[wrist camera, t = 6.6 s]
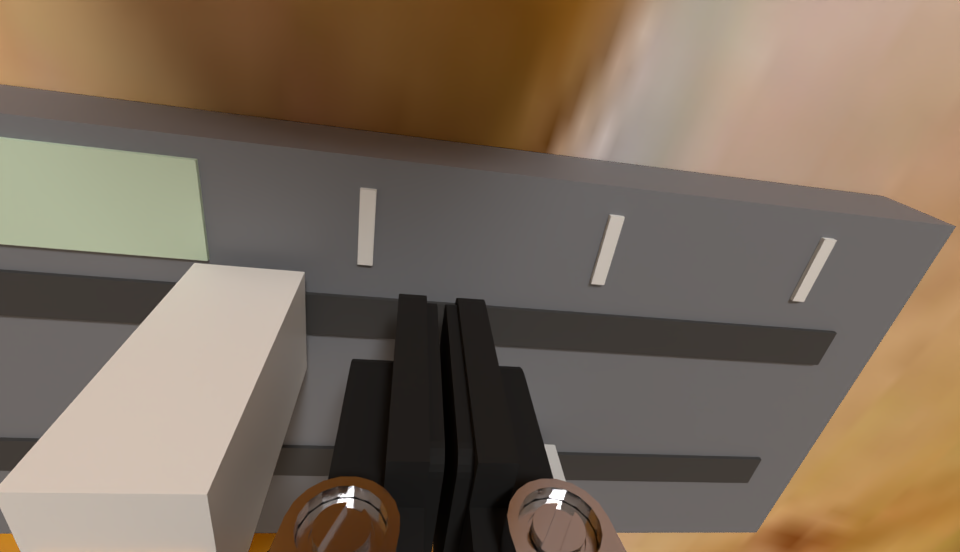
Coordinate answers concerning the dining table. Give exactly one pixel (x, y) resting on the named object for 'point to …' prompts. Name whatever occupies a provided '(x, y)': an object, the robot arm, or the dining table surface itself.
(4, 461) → the console
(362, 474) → the robot arm
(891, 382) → the dining table surface
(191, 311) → the fader
